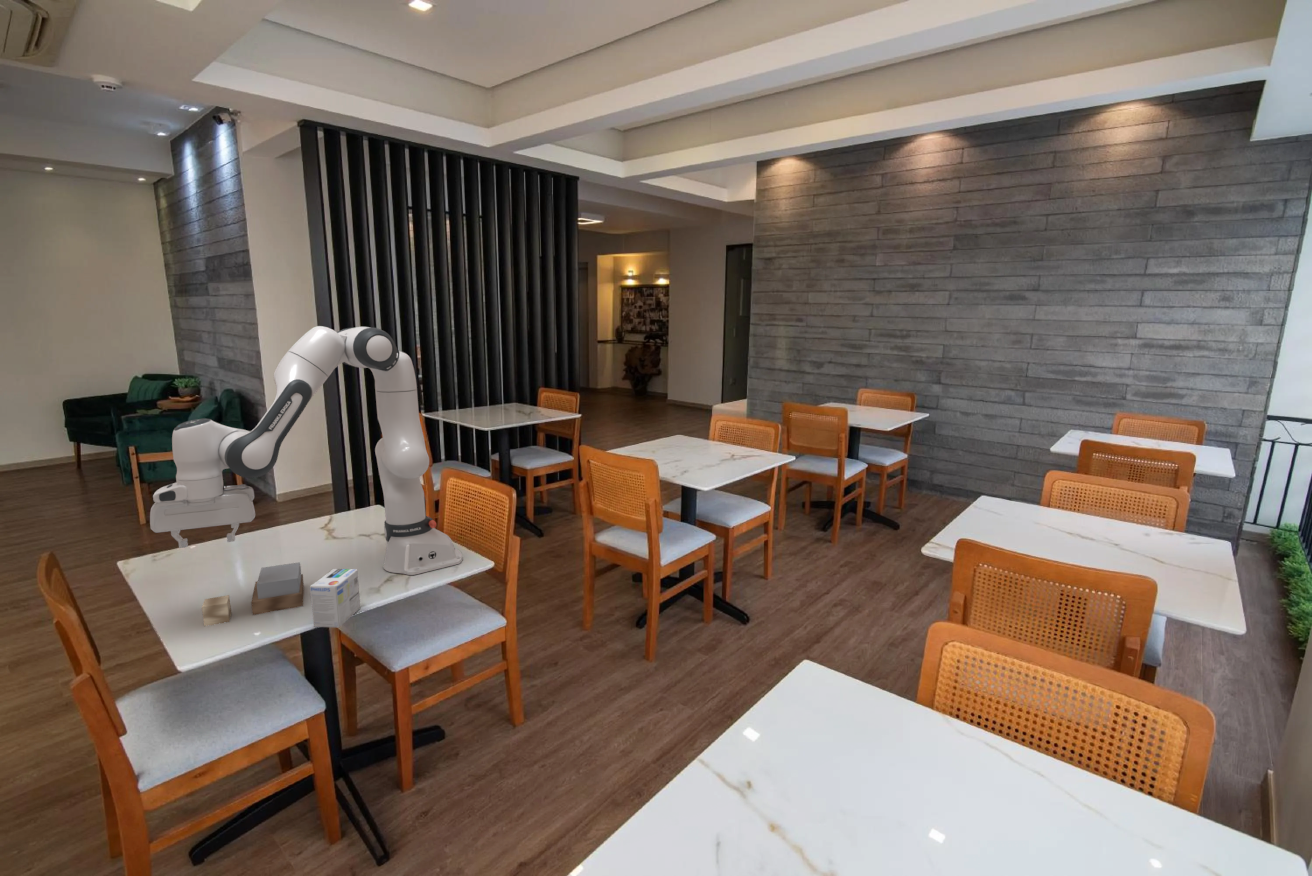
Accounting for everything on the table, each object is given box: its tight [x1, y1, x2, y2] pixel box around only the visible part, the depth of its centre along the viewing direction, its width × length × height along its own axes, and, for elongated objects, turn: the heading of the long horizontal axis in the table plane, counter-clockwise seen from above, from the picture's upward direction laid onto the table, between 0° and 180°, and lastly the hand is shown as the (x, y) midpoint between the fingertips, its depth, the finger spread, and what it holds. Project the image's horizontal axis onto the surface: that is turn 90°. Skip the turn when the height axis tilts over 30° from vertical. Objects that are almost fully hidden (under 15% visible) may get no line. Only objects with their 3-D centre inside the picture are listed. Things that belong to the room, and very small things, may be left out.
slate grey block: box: [257, 561, 302, 599], centre depth 164 cm, size 9×12×4 cm
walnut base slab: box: [250, 573, 305, 616], centre depth 165 cm, size 11×14×4 cm
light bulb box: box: [309, 568, 361, 628], centre depth 155 cm, size 11×7×11 cm, turn 178°
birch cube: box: [201, 594, 232, 627], centre depth 154 cm, size 5×5×5 cm
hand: (207, 544), depth 150 cm, fingers open, 8 cm apart
